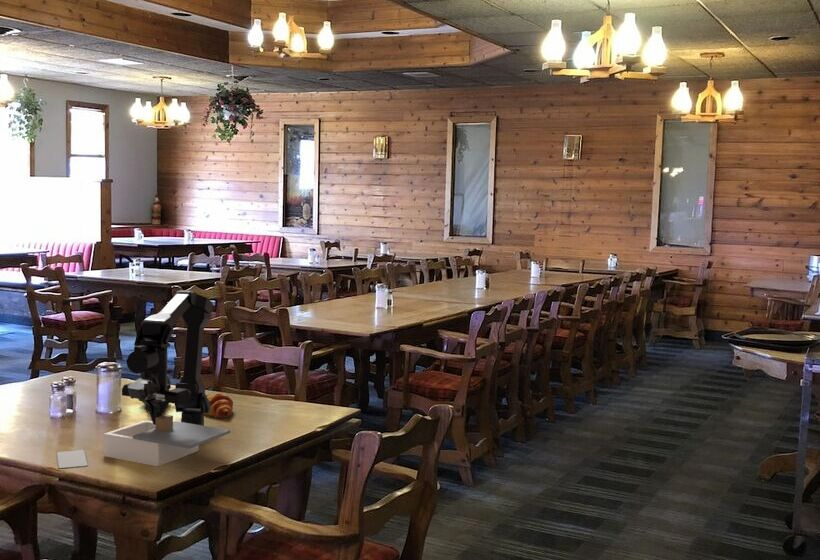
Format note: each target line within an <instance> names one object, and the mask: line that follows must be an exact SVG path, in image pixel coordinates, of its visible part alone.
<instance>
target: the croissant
mask: <svg viewBox="0 0 820 560" xmlns="http://www.w3.org/2000/svg"><path fill="white" fill-rule="evenodd" d="M206 396H207V398H208V400H209V402H210V410H209V413H204V415H206V416H210V417H215V418H220V419H221V418H222V419H223V418H227V417H230V416H231V415H232V412H233V409H234V408H233V406H234V401H233V399H232V398H231V397H230V396H229V395H227V394H224V393H221V392H219V393H212V394H206Z"/></svg>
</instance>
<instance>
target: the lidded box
mask: <svg viewBox="0 0 820 560" xmlns="http://www.w3.org/2000/svg"><path fill="white" fill-rule="evenodd" d="M154 428H156V425H154V424H153V422H152V420H147V419H146V420H143V421H140V422H136V423H133V424H129V425H127V426H124V427H121V428H117V429H115V430H111V431H108V432H105V433H103V457H107V458H112V459H117V460H122V461H126V462H133V463H139V464H143V465H149V466H155V467H161V466H163V465H166V464H168V463H171V462H174V461H176V460H179V459H181V458H184V457H186V456H188V455H191V454H194V453H196V452H198V451H199V445H198V446H196V447H193V448H190V449H188V448H182V447H177V446H171V445H166V444H160V443H155V442H149V441H143V440H138V439H133V435H136V434H139V433H142V432H145V431H148V430H151V429H154Z"/></svg>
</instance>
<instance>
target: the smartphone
mask: <svg viewBox="0 0 820 560" xmlns="http://www.w3.org/2000/svg"><path fill="white" fill-rule="evenodd" d="M56 460H57V468H58V469H59V470H63V469H74V468H75V469H77V468H84V467H85V468H86V467H89V463H88V459H87V455H86V452H85V449H78V450H77V449H76V450H65V451H62V450H61V451H57V452H56Z"/></svg>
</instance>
